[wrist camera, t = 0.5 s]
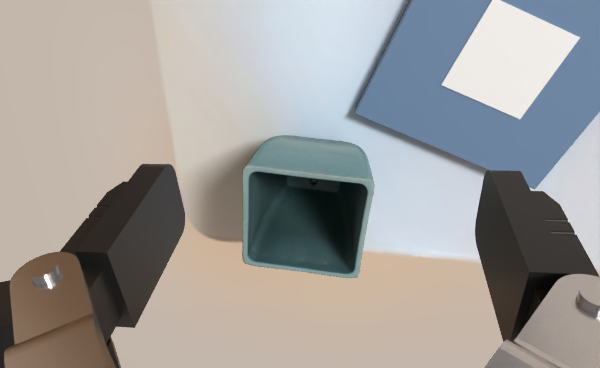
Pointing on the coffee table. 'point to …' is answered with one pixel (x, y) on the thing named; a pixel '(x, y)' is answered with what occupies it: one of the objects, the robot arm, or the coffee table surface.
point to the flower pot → (306, 206)
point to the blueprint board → (491, 80)
